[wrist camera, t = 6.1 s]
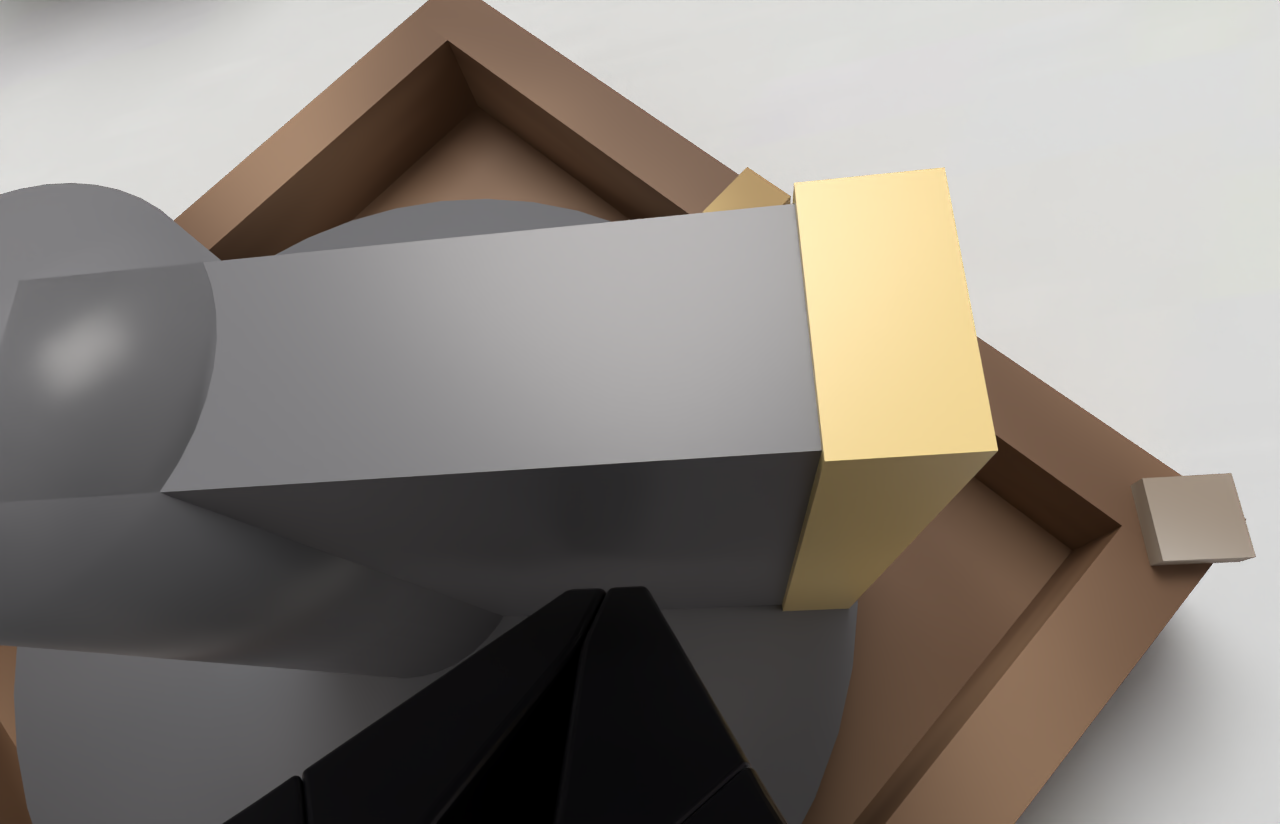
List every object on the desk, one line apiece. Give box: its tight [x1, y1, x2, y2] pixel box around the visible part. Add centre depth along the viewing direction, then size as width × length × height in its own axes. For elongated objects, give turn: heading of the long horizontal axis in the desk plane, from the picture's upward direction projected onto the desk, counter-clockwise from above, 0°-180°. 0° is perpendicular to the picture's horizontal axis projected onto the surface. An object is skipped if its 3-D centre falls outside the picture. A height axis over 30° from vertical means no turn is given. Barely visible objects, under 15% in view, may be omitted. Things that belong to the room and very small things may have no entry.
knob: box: [0, 167, 998, 824], centre depth 10 cm, size 14×14×10 cm
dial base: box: [0, 0, 1256, 824], centre depth 15 cm, size 18×18×4 cm
